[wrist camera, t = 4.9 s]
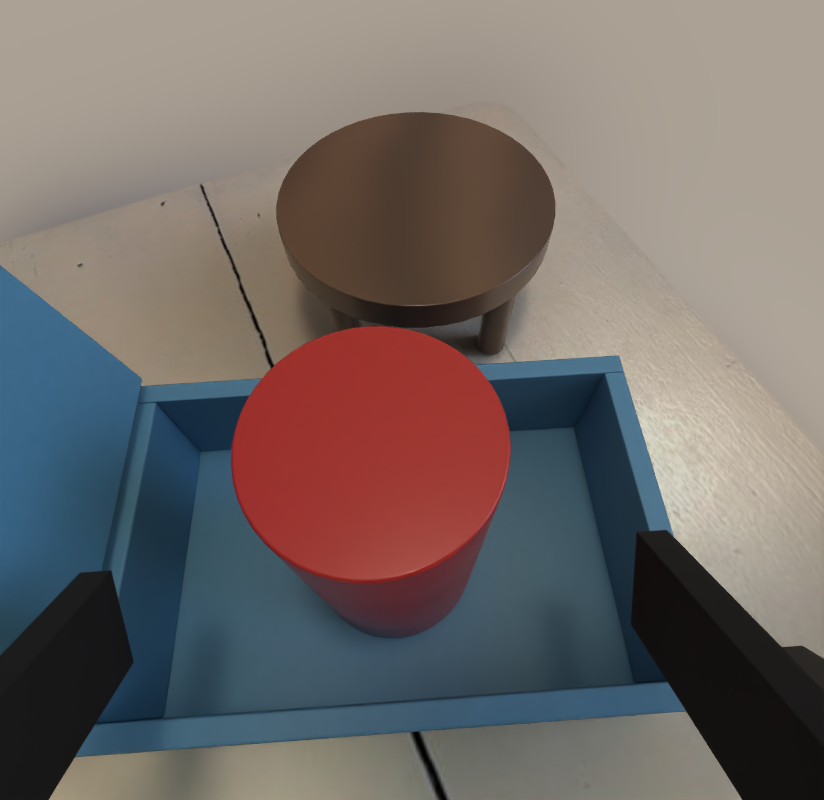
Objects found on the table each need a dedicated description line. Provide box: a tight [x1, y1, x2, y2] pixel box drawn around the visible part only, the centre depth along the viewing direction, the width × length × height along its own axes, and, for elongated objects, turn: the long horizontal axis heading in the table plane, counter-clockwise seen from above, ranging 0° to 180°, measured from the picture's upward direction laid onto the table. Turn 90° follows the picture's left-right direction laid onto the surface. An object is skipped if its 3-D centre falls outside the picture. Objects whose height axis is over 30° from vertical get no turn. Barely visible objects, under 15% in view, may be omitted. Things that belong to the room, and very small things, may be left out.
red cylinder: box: [231, 326, 511, 638], centre depth 18 cm, size 7×7×12 cm
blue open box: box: [75, 356, 686, 757], centre depth 21 cm, size 20×13×6 cm, turn 94°
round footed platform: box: [276, 112, 555, 354], centre depth 28 cm, size 13×13×7 cm
